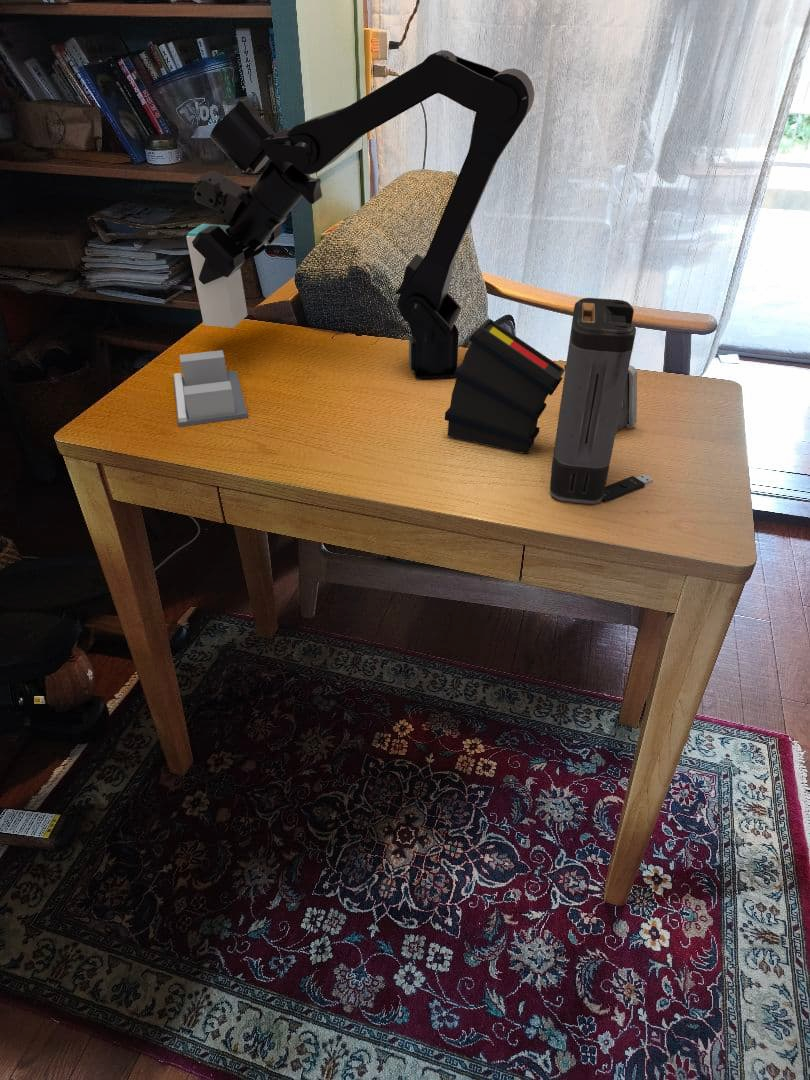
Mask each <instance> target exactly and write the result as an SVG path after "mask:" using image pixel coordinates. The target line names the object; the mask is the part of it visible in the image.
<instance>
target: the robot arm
mask: <svg viewBox="0 0 810 1080" xmlns="http://www.w3.org/2000/svg"><path fill="white" fill-rule="evenodd" d="M437 94H439V95H442V96H444V97H446V98H448V99H449V100H450V101H451V100H452V101H453V102H455V103H457V104H458V105H460V106H462V107H463V108H466V109H468V110H470V111H472V112H475V115H474V119H473V124H472V130H471V136H470V144H469V147H468V152H467V153H466V157H465V159H464V162H463V164H462V166H461V169H460V171H459V173H458V175H457V179H456V181H455V184H454V186H453V188H452V191H451V193H450V195H449V198H448V200H447V202H446V205H445V208H444V211H443V212H442V214H441V217H440V219H439V222H438V225H437V227H436V229H435V232H434V234H433V237H432V239H431V241H430V244H429V247H428V249H427V252H426V254H425V255H424V257H422V256H421V255H420V254H418V253H415V254H414V256H413V258H412V259H411V260H410V261H409V262H408V264H407V265H406V267H405V270H404V275H403V279H402V282H401V284H400V285H399V287H398V288H397V290H396V291H395V295H399V297H398V298H397V304H396V305H397V310H398V311H399V314H400V316H401V317H402V318H403V320H404V321H406V322H407V323H408V326H409V330H410V332H411V334H412V336H410V337H409V339H408V364H409V367H410V370H411V371H413V374H414V378H415V379H416V380H426V379H429V380H430V379H447V378H449V379H450V378H453V375H454V373H455V370H456V369H457V368H458V355H459V338H460V337H459V334H460V332H459V330H458V328H457V326H456V324H455V323H456V322H457V321H458V318H459V316H460V313H461V311H462V307H461V305H459V304H458V302H457V301H456V300H455V299H454V298H453V297H452V295H450V293H449V292H448V291H449V288H450V283H451V279H452V274H453V268H454V263H455V258H456V256H457V255H458V252H459V250H460V248H461V245H462V242H463V240H464V238H465V235H466V234H467V232H468V229H469V226H470V224H471V222H472V219H473V218H474V215H475V212H476V210H477V208H478V206H479V203H480V201H481V199H482V197H483V194H484V192H485V190H486V187H487V186H488V183H489V180H490V179H491V176H492V174H493V172H494V169H495V167H496V165H497V163H498V160H499V158H500V157H501V155H503V154H502V153H503V152H504V151H505V150H506V148H507V147H508V145H509V143H510V142H511V140H512V138H513V137H514V136H515V134H516V132H517V131H518V130H519V128H520V126H521V125H522V123H523V122H524V120H525V119H526V117H527V115H528V114H529V112H530V110H531V109H532V107H533V104H534V100H535V91H534V85H533V82H532V80H531V78H530V77H529V75H527V73H525V72H523V71H522V70H520V69H517V68H506V69H504V70H502V71H499V70H497V69H495V68H492V67H489V66H487V65H484V64H481V63H478V62H474V61H471V60H468V59H466V58H462V57H460V56H458V55H456V54H455V53H453V52H451V51H449V50H445V49H442V50H438V51H436V52H434V53H431V54H429V55H428V56H427V57H426V58H425V59H424V60H423V61H422V62H421V63H419V64H417V65H415V66H413V67H412V68H410V69H409V70H407V71H405V72H404V73H402V74H400V75H399V76H398V75H397V76H396V77H395V78H393V79H392V80H390V81H389V82H387V83H386V84H383V85H382V86H380V87H378V88H377V89H375V90H374V91H372V92H370V93H369V94H367V95H365V96H363V97H361V98H360V99H359V100H357V101H355V102H353V103H352V104H350V105H347V106H345V107H342V108H341V107H340V108H339V109H335V110H332V111H330V112H327V113H323V114H321V115H318V116H314V117H312V118H310V119H307V120H306V121H303V122H300V123H299V124H296V125H294V126H293V127H292V128H290V129H287V128H284V129H282V130H280V131H277V132H275V131H274V130H273V128H271V126H270V125H269V123H267V122H266V121H265V120H264V119H263V118H262V117H261V115H260V114H259V113H258V112H257V110H256V109H255V107H254V105H253V104H252V103H251V102H250V101H249V100H248V99H246V98H245V99H241V100H239V101H238V102H237V103H236V105H235V106H234V107H233V108H232V109H230V111H228V112H227V113H226V114H225V116H224V117H222V119H220V120H219V119H218V121H217V123H216V124H215V125H214V127H213V128H212V130H211V132H210V134H209V138H210V139H211V140H212V142H213V143H214V144H215V145H216V146H217V147H218V148H219V149H220V150H221V151H222V152H223V153H224V154H225V156H227V158H228V159H229V160H230V161H231V162H232V163H233V164H234V165H235V166H236V168H238V169H239V170H240V172H241V173H247V172H248V171H249V170H250V171H251V172H252V173H253V174H256V173H257V172H258V171H260V170H261V169H262V168H263V167H264V166H265V165H266V164H267V162H268V161H269V160H270V162H269V163H268V164H267V166H266V167H265V168H264V169H263V171H262V172H261V174H260V175H259V177H257V179H256V180H255V181H254V182H253V184H252V185H251V186H250V187H249V188H248V189H246V188H244V187H242V186H241V185H240V184H238V183H237V182H235V181H233V180H231V179H230V178H228V177H226V176H224V175H223V174H221V173H219V172H217V171H213V170H210V171H208V172H205V173H203V174H201V175H199V178H198V179H197V181H196V183H195V184H194V185H193V186H192V192H193V193H194V200H195V202H197V203H199V204H200V205H203V206H205V207H207V208H209V209H212V210H214V211H215V212H217V213H220V214H222V215H221V216H220V217H219V220H220V221H221V222H222V223H223V225H228V226H229V228H227V229H226V230H225V231H223V230H222V229H221V228H220V227H219V226H209V227H207V228H206V229H204V230H202V231H201V232H199V233H198V235H197V236H196V237H195V239H194V240H193V241H192V244H193V247H194V248H195V249H196V250H197V251H198V252H199V253H200V254H201V255H202V256H203V257H204V258H205V261H204V264H203V267H202V270H201V273H200V276H199V281H200V282H201V283H202V284H207V283H209V282H211V281H214V280H216V279H218V278H221V277H223V276H224V277H227V278H228V277H229V276H230V275H232V274H233V273H234V272H236V271H237V270H238V269H240V270H241V268H242V265H243V264H244V263H245V261H247V260H249V259H252V258H254V257H256V256H257V255H260V254H262V252H264V251H265V250H266V249H267V247H266V245H265V244H267V245H268V246H271V245H273V244H274V243H276V242H277V241H278V239H279V238H280V237H281V236H282V234H283V223H284V222H285V221H286V220H287V219H288V214H289V213H290V212H291V210H292V209H293V208H294V207H295V206H296V205H297V204H298V203H299V201H300V200H301V199H302V198H304V199H305V200H306V201H307V202H308V203H309V204H311V205H313V204H315V203H317V202H318V201H319V200H320V199H322V197H323V194H322V193H323V192H322V188H321V181H322V180H321V178H320V177H317V178H315V177H313V176H312V177H311V176H310V175H313V174H316V173H318V172H320V171H322V170H323V169H325V168H326V167H328V166H330V165H332V164H333V163H334V162H335V161H337V160H338V159H339V158H340V157H341V156H342V155H343V154H344V153H346V152H347V151H348V150H349V149H351V147H353V146H354V144H356V143H357V142H358V141H359V140H360V139H361V138H362V137H363V136H365V134H368V133H369V132H371V131H373V130H375V129H377V128H378V127H380V126H382V125H383V124H385V123H387V122H389V121H390V120H392V119H394V118H396V117H397V116H399V115H400V114H403V113H404V112H406V111H408V110H409V109H411V108H413V107H415V106H417V105H418V104H420V103H422V102H424V101H425V100H428V99H429V98H430V97H433V96H434V95H437Z"/></svg>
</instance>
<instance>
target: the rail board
mask: <svg viewBox="0 0 810 1080" xmlns="http://www.w3.org/2000/svg"><path fill="white" fill-rule="evenodd" d="M179 361H180V367H181V371H182V372H178V373H177V372H176V373H174V374H173V385H174V386H173V387H174V389H173V390H174V398H175V399H174V400H175V407H176V408H175V410H176V418H177V425H178V426H177V427H180V428H181V427H186V426H193V425H200V424H209V423H217V422H224V421H225V422H226V421H231V420H232V421H233V420H239V419H247V418H249V415H248V411H247V406H246V403H245V399H244V395H243V391H242V387H241V383H240V379H239V376H238V372H237V370H228V371H227V366H226V359H225V354H224V350H223V349H221V350H212V351H211V350H210V351H203V352H194V353H193V352H192V353H187V354H179Z"/></svg>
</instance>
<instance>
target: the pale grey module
mask: <svg viewBox="0 0 810 1080" xmlns="http://www.w3.org/2000/svg"><path fill="white" fill-rule="evenodd" d="M209 226H219V227H220V228H221V229H222V230H223V231H225V230H226V229H227V228H229V226H228V225H225V224H214V223H213V224H212V223H210V224H209V223H202V224H200V225H198V226H197V227H195V228H193V229H192V230H190V231H188V232H187V235H186V243H187V247H188V252H189V257H190V262H191V267H192V271H193V272H192V273H193V278H194V283H195V286H196V293H197V297H198V298H197V299H198V303H199V307H200V312H201V317H202V324H203V326H207V327H208V326H209V327H223V328H231V329H234V328H236V327H237V326H238V325H239V324H240V323H241V322H242V321H243V320H244V319H245V318H246V317H247V316H248V309H247V304H246V303H247V302H246V297H245V288H244V284H243V277H242V271H241V268H240V269H238V270H237V271H236V272H234V273H233V274H232V275H230V276H229V277H228V278H227V277H224V276H223V277H221V278H218V279H216V280H214V281H211V282H209V283H207V284H202V283H201V282H200V281H199V276H200V273H201V270H202V267H203V264H204V261H205V258H204V257H203V256H202V255H201V254H200V253H199V252H198V251H197V250H196V249H195V248H194V247H193V244H192V241H193V240H194V239H195V237H196V236H197V235H198V233H199V232H201V231H202V230H204V229H206V228H207V227H209Z"/></svg>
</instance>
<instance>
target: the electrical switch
mask: <svg viewBox="0 0 810 1080" xmlns="http://www.w3.org/2000/svg"><path fill="white" fill-rule="evenodd" d="M563 367H564V370H565V369H566V364H564V366H563ZM637 400H638V371H637V370H636V368H635V366H633V365H630V364H629V368H628V374H627V379H626V384H625V390H624V395H623V401H622V405H621V410H620V414H619V419H618V424H617V430H616V432H617V431H618V430H620V429H622V428H624V427H626V428H628V429H632V428H633V427H634V426H635V425H636V423H637V422H638V421H637V416H638V415H637V414H638V411H637V409H638V408H637V407H638V405H637V404H638V401H637Z"/></svg>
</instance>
